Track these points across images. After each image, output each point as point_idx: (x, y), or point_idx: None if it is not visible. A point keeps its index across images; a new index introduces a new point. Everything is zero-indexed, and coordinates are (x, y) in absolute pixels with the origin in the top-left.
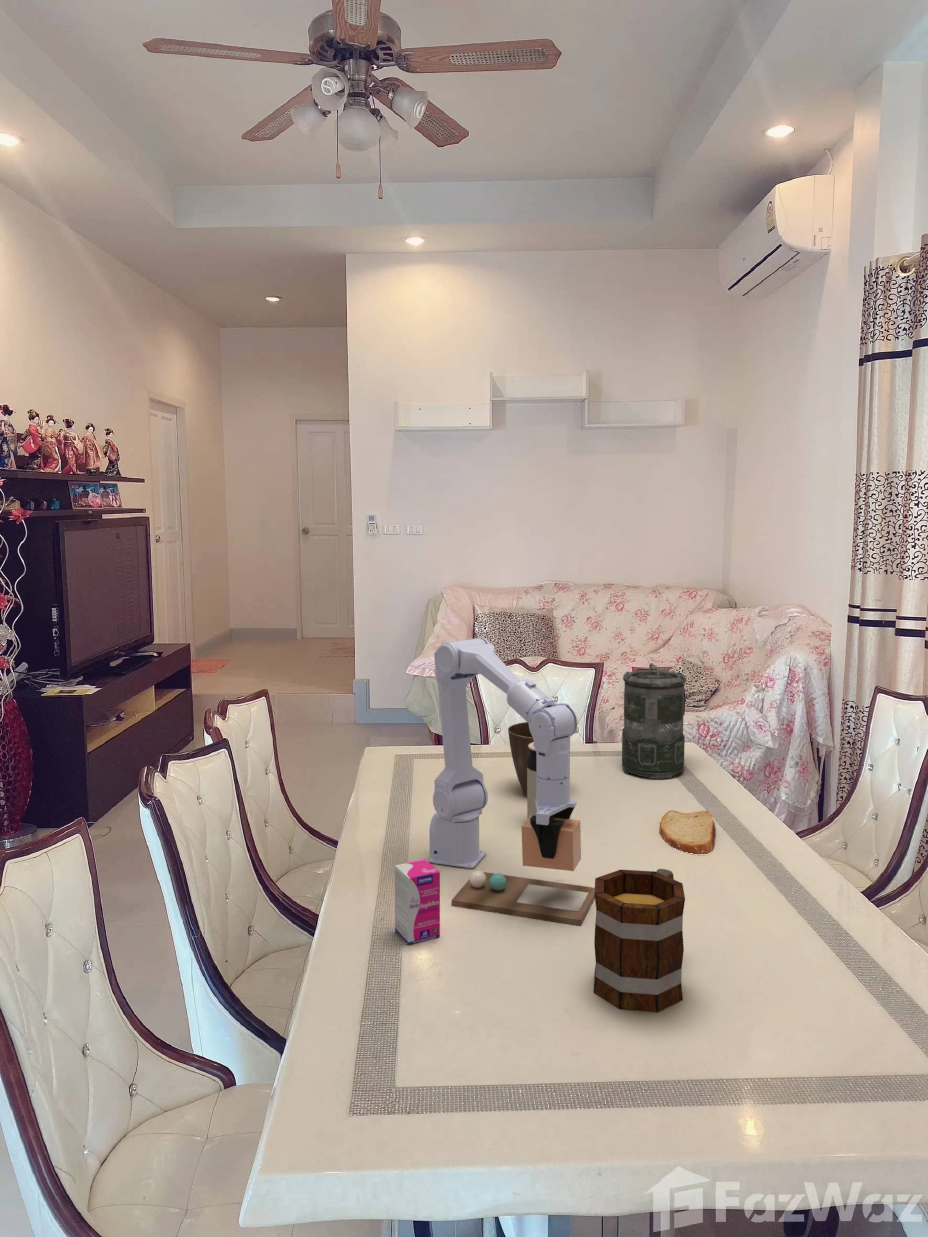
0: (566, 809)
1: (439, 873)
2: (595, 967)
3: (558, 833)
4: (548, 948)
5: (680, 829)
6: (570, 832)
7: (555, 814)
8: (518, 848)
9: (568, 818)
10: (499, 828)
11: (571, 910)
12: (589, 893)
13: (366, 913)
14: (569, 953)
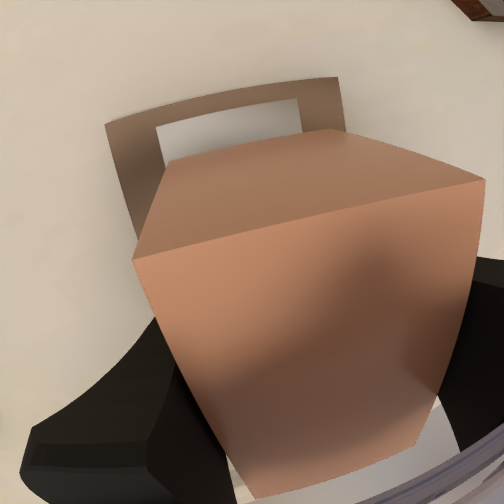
0: (181, 475)
1: None
2: (491, 17)
3: (498, 268)
4: (443, 119)
5: None
6: (477, 196)
7: (214, 466)
8: (44, 396)
9: (170, 380)
10: (22, 437)
11: (299, 120)
12: (154, 124)
13: None
14: (443, 73)
